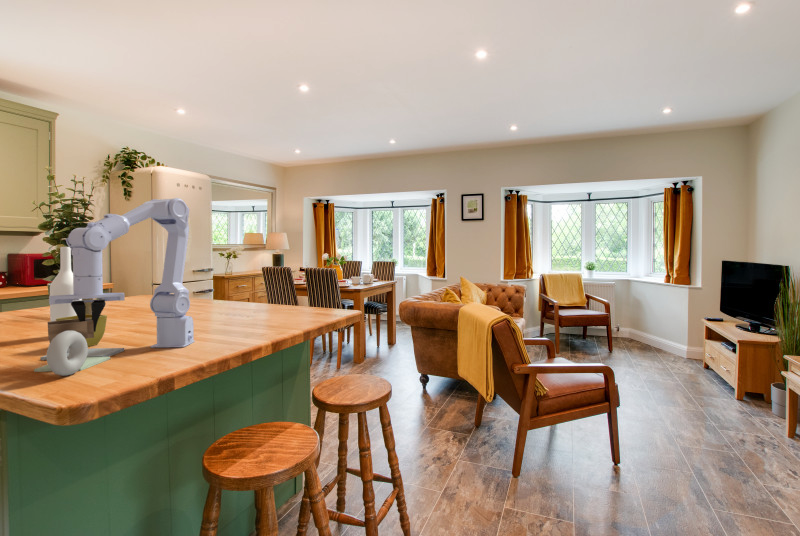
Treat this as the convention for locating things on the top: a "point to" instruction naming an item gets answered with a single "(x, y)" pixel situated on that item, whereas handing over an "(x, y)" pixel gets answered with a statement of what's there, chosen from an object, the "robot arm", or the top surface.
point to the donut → (59, 353)
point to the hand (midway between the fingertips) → (88, 331)
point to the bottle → (63, 286)
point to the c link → (71, 327)
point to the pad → (88, 363)
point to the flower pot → (99, 328)
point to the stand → (97, 352)
